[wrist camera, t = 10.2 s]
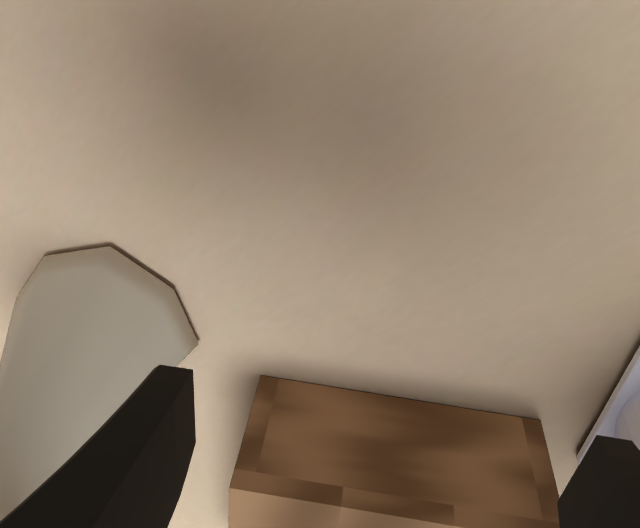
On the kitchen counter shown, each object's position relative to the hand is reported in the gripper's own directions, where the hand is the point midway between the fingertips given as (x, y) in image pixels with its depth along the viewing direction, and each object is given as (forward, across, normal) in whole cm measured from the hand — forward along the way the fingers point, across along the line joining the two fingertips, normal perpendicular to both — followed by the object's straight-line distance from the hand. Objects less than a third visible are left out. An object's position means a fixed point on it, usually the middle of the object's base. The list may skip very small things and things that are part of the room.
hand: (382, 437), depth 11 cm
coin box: (+10, -2, +16) cm, 19 cm away
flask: (+11, +10, +8) cm, 17 cm away
